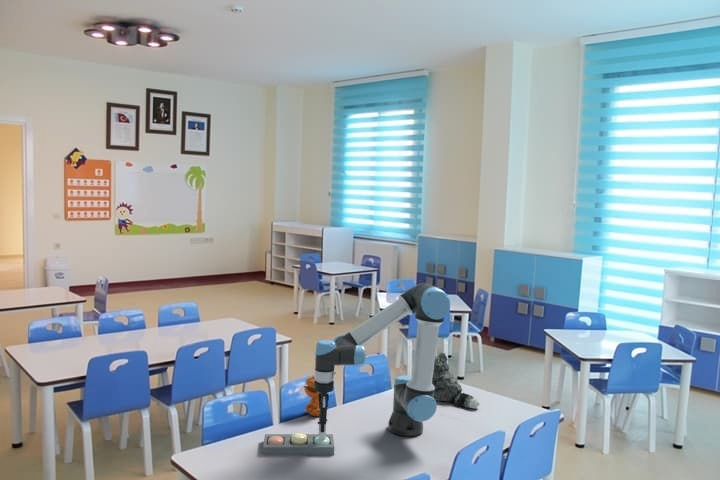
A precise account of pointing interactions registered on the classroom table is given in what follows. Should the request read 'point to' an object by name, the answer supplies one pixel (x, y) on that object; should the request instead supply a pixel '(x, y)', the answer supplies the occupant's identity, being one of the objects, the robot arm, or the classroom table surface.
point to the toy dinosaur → (311, 392)
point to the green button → (321, 441)
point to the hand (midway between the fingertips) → (321, 438)
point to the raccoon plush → (449, 385)
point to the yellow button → (298, 438)
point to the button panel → (298, 446)
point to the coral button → (275, 440)
